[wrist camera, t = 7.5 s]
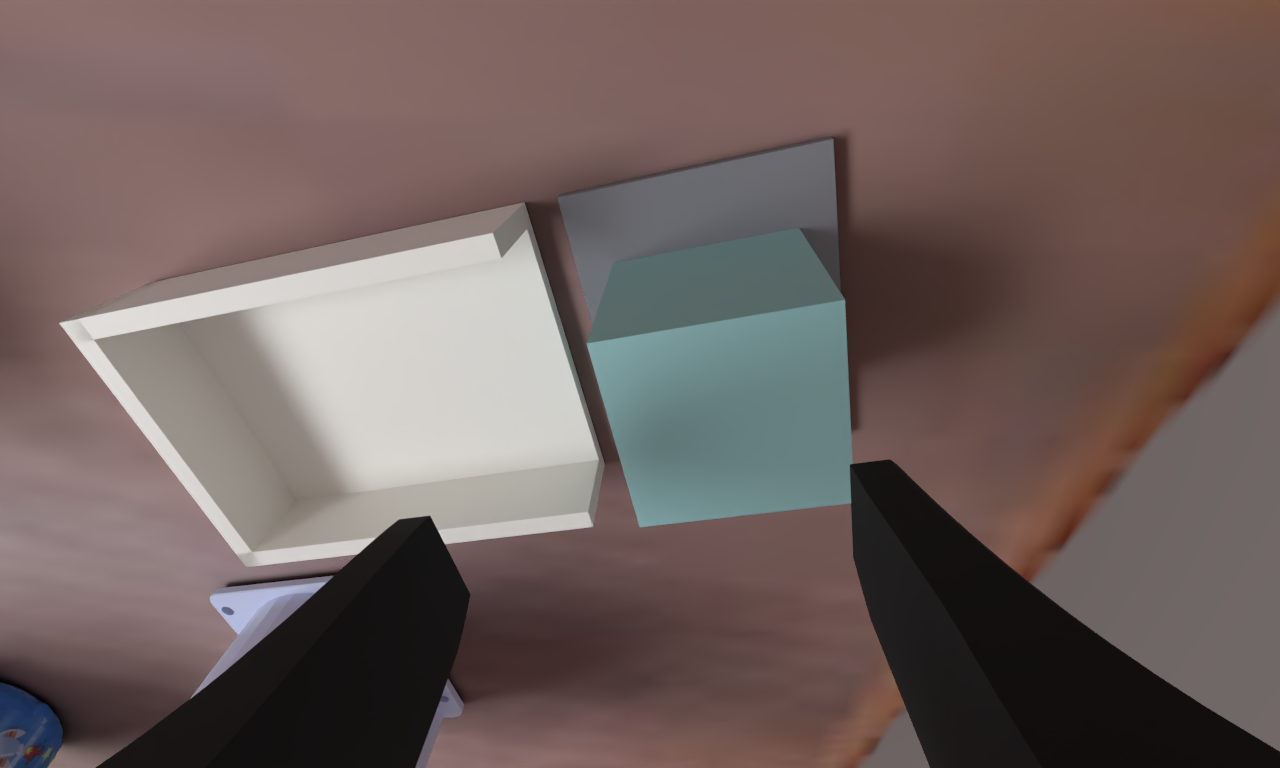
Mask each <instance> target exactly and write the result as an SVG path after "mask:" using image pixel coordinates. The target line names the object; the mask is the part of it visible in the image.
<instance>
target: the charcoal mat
mask: <svg viewBox="0 0 1280 768" xmlns="http://www.w3.org/2000/svg"><path fill="white" fill-rule="evenodd" d="M557 200H558V203H559V207H560V210H561V214H562V218H563V221H564V225H565V228H566V232H567V235H568V239H569V243H570V246H571V250H572V253H573V257H574V261H575V264H576V268H577V271H578V275H579V279H580V282H581V286H582V289H583V293H584V296H585V300H586V304H587V307H588V311H589V314H590V318H591V322H592V325H593V323H594V319H595V316H596V313H597V310H598V307H599V304H600V301H601V298H602V295H603V292H604V289H605V286H606V283H607V280H608V277H609V274H610V271H611V268H612V265H613V263H617V262H622V261H628V260H633V259H638V258H643V257H649V256H654V255H659V254H664V253H669V252H675V251H680V250H685V249H690V248H696V247H701V246H706V245H711V244H716V243H722V242H727V241H732V240H737V239H743V238H748V237H753V236H758V235H763V234H769V233H774V232H779V231H784V230H790V229H795V228H799V229H800V230H801V232H802V233H803V235H804V236H805V238H806V240H807V241H808V243H809V244H810V246H811V247H812V249H813V250H814V252H815V254H816V255H817V257H818V258H819V260H820V261H821V263H822V265H823V266H824V268H825V269H826V271H827V272H828V274H829V275H830V277H831V279H832V280H833V282H834V283H835V285H836V286H837V288H838V290H839V291H840V293H841V282H840V262H839V242H838V221H837V201H836V181H835V161H834V141H833V138H831V137H826V138H821V139H817V140H812V141H807V142H803V143H798V144H793V145H789V146H784V147H779V148H775V149H770V150H765V151H761V152H756V153H751V154H747V155H742V156H737V157H733V158H728V159H723V160H719V161H714V162H710V163H705V164H700V165H696V166H691V167H686V168H682V169H677V170H672V171H668V172H663V173H658V174H654V175H649V176H644V177H640V178H635V179H630V180H626V181H621V182H616V183H612V184H607V185H602V186H598V187H593V188H588V189H584V190H579V191H574V192H570V193H565V194H560V195H559V196H558V197H557Z"/></svg>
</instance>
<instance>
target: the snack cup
mask: <svg viewBox="0 0 1280 768" xmlns="http://www.w3.org/2000/svg"><path fill="white" fill-rule="evenodd" d="M62 735H63V730H62V726H61V724H60V721H59V719H58V717H57V715H56V714H55V713H53V711H52V709H51V708H50V707H49V706H48V705H47V704H45V703H42V702H41V701H39V700H38V699H37V698H35V697H34V696H32V695H31V694H29V693H27V692H25V691H23V690H22V689H20V688H18V687H15V686H12V685H8V684H5V683H1V682H0V768H47V767H48V766H49V765H50V763H51V762H52V760H53V759H54V758H55V756H56V753H57V752H58V750H59V749H60V747H61V745H62V743H63V740H62Z"/></svg>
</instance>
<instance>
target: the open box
mask: <svg viewBox="0 0 1280 768" xmlns="http://www.w3.org/2000/svg"><path fill="white" fill-rule="evenodd" d="M59 324H60V325H61V326H62V327H63V329H64V330H65V331H66V333H67V334H68V335H69V337H70V338H71V339H72V340H73V342H74V343H75V344H76V346H77V347H78V348H79V350H80V351H81V352H82V354H83V355H84V356H85V357H86V359H87V360H88V361H89V363H90V364H91V365H92V367H93V368H94V369H95V371H96V372H97V373H98V374H99V376H100V377H101V378H102V380H103V381H104V382H105V384H106V385H107V386H108V387H109V389H110V390H111V391H112V393H113V394H114V395H115V397H116V398H117V399H118V401H119V402H120V403H121V404H122V406H123V407H124V408H125V410H126V411H127V412H128V414H129V415H130V416H131V417H132V419H133V420H134V421H135V423H136V424H137V425H138V427H139V428H140V429H141V431H142V432H143V433H144V434H145V436H146V437H147V438H148V440H149V441H150V442H151V444H152V445H153V446H154V447H155V449H156V450H157V451H158V453H159V454H160V455H161V457H162V458H163V459H164V461H165V462H166V463H167V464H168V466H169V467H170V468H171V470H172V471H173V472H174V474H175V475H176V476H177V477H178V479H179V480H180V481H181V483H182V484H183V485H184V487H185V488H186V489H187V491H188V492H189V493H190V494H191V496H192V497H193V498H194V500H195V501H196V502H197V504H198V505H199V506H200V508H201V509H202V510H203V511H204V513H205V514H206V515H207V517H208V518H209V519H210V521H211V522H212V523H213V524H214V526H215V527H216V528H217V530H218V531H219V532H220V534H221V535H222V536H223V538H224V539H225V540H226V541H227V543H228V544H229V545H230V547H231V548H232V549H233V551H234V552H235V553H236V554H237V556H238V557H239V558H240V560H241V561H242V562H243V564H244V565H245V566H246V567H251V566H260V565H269V564H277V563H286V562H295V561H303V560H312V559H320V558H329V557H338V556H346V555H355V554H359V553H360V552H361V551H362V550H363V549H364V548H366V547H367V546H368V545H369V544H370V543H371V542H372V541H373V540H375V539H376V538H377V537H378V536H379V535H380V534H382V533H383V532H384V531H385V530H386V529H388V528H389V527H390V526H391V525H393V524H394V523H395V522H396V521H398V520H399V519H406V518H414V517H423V516H431V518H432V520H433V522H434V524H435V526H436V528H437V530H438V532H439V534H440V536H441V538H442V540H443V542H444V544H450V543H459V542H467V541H476V540H484V539H493V538H502V537H510V536H519V535H528V534H536V533H545V532H554V531H562V530H571V529H579V528H588V527H593V525H594V520H595V515H596V509H597V504H598V499H599V493H600V488H601V483H602V478H603V472H604V467H605V463H604V460H603V457H602V453H601V450H600V447H599V443H598V440H597V437H596V434H595V430H594V427H593V424H592V421H591V417H590V414H589V411H588V408H587V404H586V401H585V398H584V395H583V391H582V388H581V385H580V382H579V378H578V375H577V372H576V368H575V365H574V362H573V359H572V355H571V352H570V349H569V346H568V342H567V339H566V336H565V333H564V329H563V326H562V323H561V320H560V316H559V313H558V310H557V306H556V303H555V300H554V297H553V293H552V290H551V287H550V284H549V280H548V277H547V274H546V271H545V267H544V264H543V261H542V258H541V254H540V251H539V248H538V245H537V241H536V238H535V235H534V231H533V228H532V225H531V222H530V218H529V215H528V212H527V209H526V205H525V202H523V203H519V204H514V205H509V206H505V207H500V208H495V209H491V210H486V211H481V212H477V213H472V214H467V215H463V216H458V217H453V218H449V219H444V220H439V221H435V222H430V223H425V224H421V225H416V226H411V227H407V228H402V229H397V230H393V231H388V232H383V233H379V234H374V235H369V236H365V237H360V238H355V239H351V240H346V241H342V242H337V243H332V244H328V245H323V246H318V247H314V248H309V249H304V250H300V251H295V252H290V253H286V254H281V255H276V256H272V257H267V258H262V259H258V260H253V261H248V262H244V263H239V264H234V265H230V266H225V267H220V268H216V269H211V270H206V271H202V272H197V273H192V274H188V275H183V276H178V277H174V278H169V279H164V280H160V281H155V282H151V283H149V284H146V285H144V286H142V287H140V288H137V289H135V290H133V291H130V292H128V293H126V294H124V295H121V296H119V297H117V298H114V299H112V300H110V301H108V302H105V303H103V304H101V305H99V306H96V307H94V308H92V309H89V310H87V311H85V312H83V313H80V314H78V315H76V316H74V317H71V318H69V319H67V320H64V321H62V322H60V323H59Z"/></svg>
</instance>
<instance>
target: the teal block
mask: <svg viewBox="0 0 1280 768" xmlns="http://www.w3.org/2000/svg"><path fill="white" fill-rule="evenodd" d="M587 347H588V350H589V354H590V357H591V361H592V364H593V368H594V371H595V375H596V378H597V382H598V385H599V388H600V392H601V395H602V399H603V402H604V406H605V409H606V413H607V416H608V420H609V423H610V427H611V430H612V433H613V437H614V440H615V444H616V447H617V451H618V454H619V458H620V461H621V465H622V468H623V471H624V475H625V478H626V482H627V485H628V489H629V492H630V496H631V499H632V503H633V506H634V510H635V513H636V516H637V520H638V523H639V527H647V526H656V525H664V524H673V523H682V522H691V521H700V520H708V519H717V518H726V517H735V516H743V515H752V514H761V513H770V512H778V511H787V510H796V509H805V508H813V507H822V506H831V505H840V504H849V503H851V485H850V464H853V462H852V440H851V418H850V397H849V375H848V353H847V331H846V310H845V299H844V297H843V296H842V294H841V293H840V291H839V290H838V288H837V286H836V285H835V283H834V282H833V280H832V279H831V277H830V275H829V274H828V272H827V271H826V269H825V268H824V266H823V265H822V263H821V261H820V260H819V258H818V257H817V255H816V254H815V252H814V250H813V249H812V247H811V246H810V244H809V243H808V241H807V240H806V238H805V236H804V235H803V233H802V232H801V230H800V229H799V228H795V229H790V230H784V231H779V232H774V233H769V234H763V235H758V236H753V237H748V238H743V239H737V240H732V241H727V242H722V243H716V244H711V245H706V246H701V247H696V248H690V249H685V250H680V251H675V252H669V253H664V254H659V255H654V256H649V257H643V258H638V259H633V260H628V261H622V262H617V263H613V265H612V268H611V271H610V274H609V277H608V280H607V283H606V286H605V289H604V292H603V295H602V298H601V301H600V304H599V307H598V310H597V313H596V316H595V319H594V323H593V326H592V329H591V332H590V335H589V338H588V341H587Z"/></svg>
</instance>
